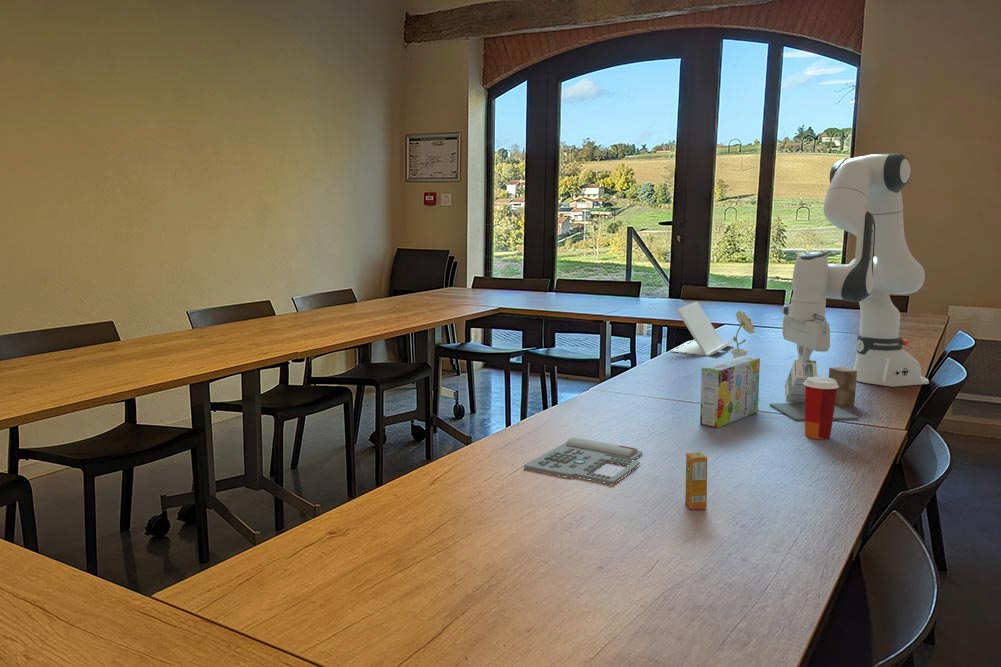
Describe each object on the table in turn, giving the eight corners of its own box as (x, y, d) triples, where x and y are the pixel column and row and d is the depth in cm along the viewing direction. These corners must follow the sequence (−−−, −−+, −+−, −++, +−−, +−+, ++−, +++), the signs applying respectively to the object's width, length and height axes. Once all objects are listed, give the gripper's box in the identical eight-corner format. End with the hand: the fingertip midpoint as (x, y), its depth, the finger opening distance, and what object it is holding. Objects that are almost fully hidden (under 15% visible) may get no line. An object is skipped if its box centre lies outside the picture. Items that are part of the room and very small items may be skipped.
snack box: (739, 408, 206) (742, 354, 203) (758, 412, 202) (762, 357, 200) (697, 424, 191) (700, 366, 189) (717, 429, 187) (721, 369, 185)
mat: (828, 404, 210) (828, 402, 210) (858, 419, 196) (858, 417, 196) (769, 405, 209) (769, 403, 209) (795, 421, 194) (795, 418, 194)
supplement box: (682, 503, 141) (685, 451, 139) (700, 502, 141) (703, 451, 139) (688, 510, 137) (691, 457, 136) (707, 509, 138) (710, 457, 136)
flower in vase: (759, 403, 212) (765, 314, 208) (717, 400, 214) (722, 313, 210) (754, 391, 224) (759, 308, 220) (714, 389, 227) (718, 307, 223)
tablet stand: (669, 352, 284) (671, 308, 282) (688, 342, 306) (690, 300, 303) (717, 357, 275) (720, 311, 273) (734, 346, 297) (736, 303, 294)
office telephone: (573, 432, 178) (654, 446, 168) (573, 443, 178) (654, 457, 168) (523, 458, 159) (611, 476, 148) (523, 470, 159) (611, 489, 149)
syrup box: (806, 404, 210) (819, 378, 198) (784, 403, 211) (795, 377, 199) (805, 386, 213) (817, 360, 201) (783, 385, 214) (794, 358, 202)
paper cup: (833, 433, 184) (837, 377, 181) (836, 442, 177) (840, 384, 174) (798, 430, 186) (802, 375, 184) (800, 439, 179) (804, 381, 177)
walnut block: (841, 401, 214) (844, 366, 212) (854, 405, 209) (857, 370, 207) (826, 402, 213) (829, 367, 211) (838, 407, 208) (841, 371, 206)
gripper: (838, 317, 195) (834, 369, 197) (801, 306, 215) (797, 354, 217) (815, 317, 195) (811, 369, 197) (779, 307, 215) (776, 354, 217)
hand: (803, 361), depth 207 cm, fingers closed
